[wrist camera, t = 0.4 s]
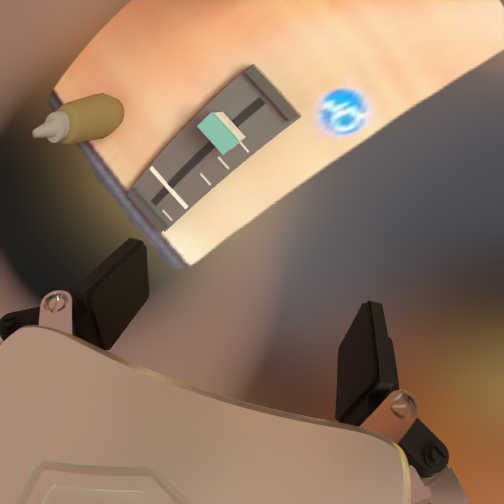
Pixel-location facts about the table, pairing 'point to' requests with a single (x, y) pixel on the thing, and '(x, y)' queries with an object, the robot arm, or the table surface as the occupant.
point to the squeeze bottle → (82, 120)
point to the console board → (211, 148)
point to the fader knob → (221, 131)
